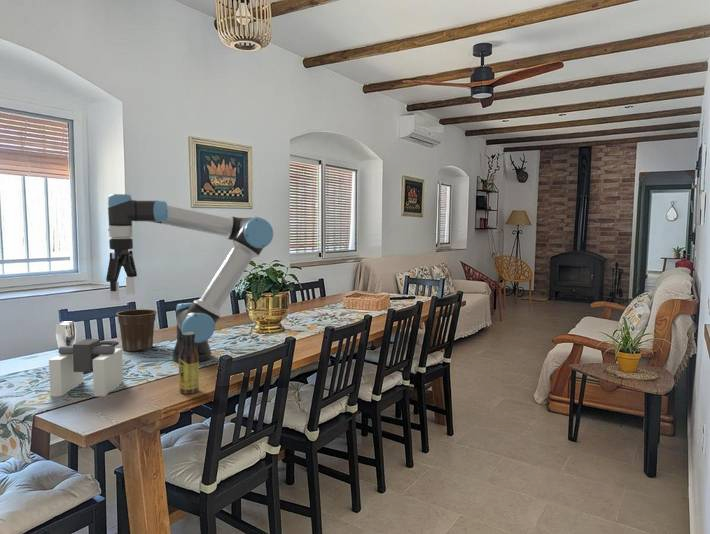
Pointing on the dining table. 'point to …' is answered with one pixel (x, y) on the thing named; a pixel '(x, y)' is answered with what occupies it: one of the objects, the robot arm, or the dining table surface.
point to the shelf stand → (65, 378)
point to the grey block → (84, 355)
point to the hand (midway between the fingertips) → (123, 297)
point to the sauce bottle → (188, 365)
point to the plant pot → (137, 329)
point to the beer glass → (66, 333)
